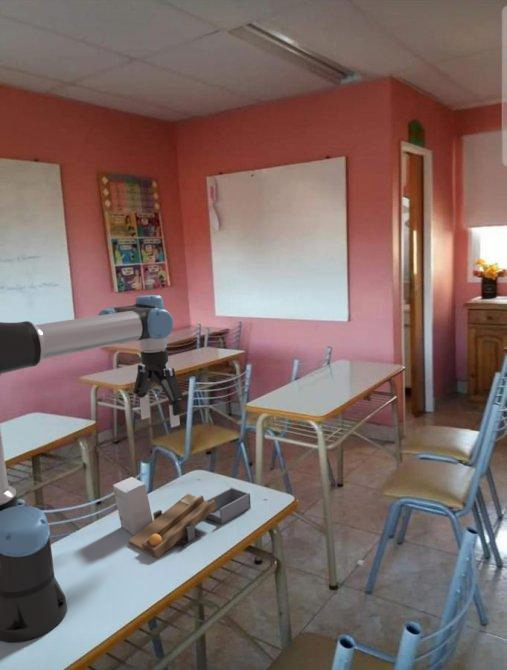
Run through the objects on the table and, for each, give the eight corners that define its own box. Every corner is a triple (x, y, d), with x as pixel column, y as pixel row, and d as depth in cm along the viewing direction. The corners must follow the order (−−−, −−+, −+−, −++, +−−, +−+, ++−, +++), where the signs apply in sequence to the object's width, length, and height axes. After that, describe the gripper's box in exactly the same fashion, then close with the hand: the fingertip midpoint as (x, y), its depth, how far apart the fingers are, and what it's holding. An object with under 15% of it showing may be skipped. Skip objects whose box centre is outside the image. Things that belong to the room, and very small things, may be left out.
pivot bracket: (184, 547, 144) (183, 531, 143) (148, 530, 154) (147, 515, 153) (201, 537, 148) (200, 522, 148) (165, 521, 158) (164, 507, 158)
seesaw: (157, 558, 139) (154, 550, 139) (129, 543, 147) (126, 536, 147) (216, 507, 154) (214, 500, 154) (188, 496, 162) (186, 489, 162)
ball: (157, 551, 141) (152, 542, 140) (149, 547, 143) (144, 538, 142) (166, 542, 143) (161, 533, 142) (158, 538, 145) (153, 529, 144)
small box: (154, 525, 155) (145, 483, 152) (134, 536, 151) (125, 492, 148) (140, 517, 161) (131, 476, 158) (120, 526, 157) (111, 485, 154)
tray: (222, 524, 155) (221, 509, 154) (204, 516, 160) (203, 502, 159) (250, 507, 164) (249, 493, 163) (232, 501, 169) (231, 487, 168)
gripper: (193, 351, 151) (198, 425, 154) (138, 344, 167) (144, 411, 171) (171, 356, 145) (178, 433, 148) (117, 348, 162) (124, 418, 165)
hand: (160, 422), depth 160 cm, fingers open, 13 cm apart
